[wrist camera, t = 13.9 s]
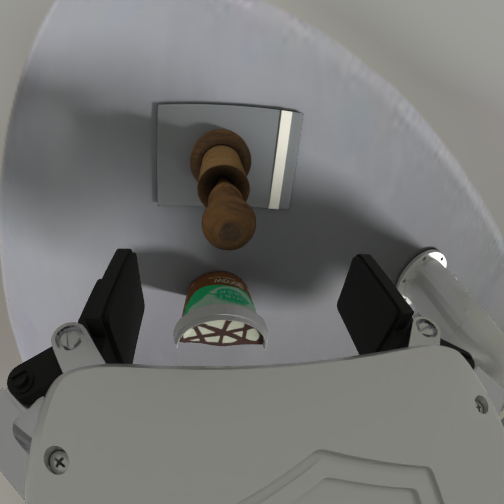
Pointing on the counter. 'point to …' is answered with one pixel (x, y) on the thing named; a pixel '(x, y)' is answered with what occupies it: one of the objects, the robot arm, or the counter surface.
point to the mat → (249, 129)
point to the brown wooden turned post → (224, 188)
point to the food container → (220, 313)
